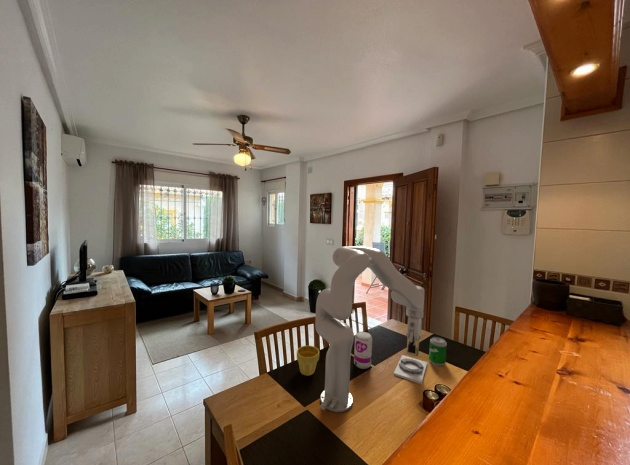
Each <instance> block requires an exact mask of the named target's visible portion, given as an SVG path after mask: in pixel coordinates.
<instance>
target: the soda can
mask: <svg viewBox="0 0 630 465" xmlns="http://www.w3.org/2000/svg"><path fill="white" fill-rule="evenodd" d="M447 345H448V344H447V341H446V340H445V339H444V338H442V337H439V336H433V337H432V338H430V339H429V349H428V350H429V353H428V360H429V362H430V363H431V364H432V365H434V366H436V367H443V366H444V365H445V364H446V363H447V362H446V360H447V348H448V347H447Z"/></svg>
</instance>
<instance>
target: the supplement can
mask: <svg viewBox="0 0 630 465" xmlns="http://www.w3.org/2000/svg"><path fill="white" fill-rule="evenodd" d="M372 350H373V337H372V335H371V333H369V332H366V331H358V332H357V333H356V334H355V335H354V353H353V354H354V355H353V356H354V357H353V363H354V365H355V367H357V368H359V369H362V370H364V369H365V370H366V369H369V368H370V367H372V353H373V351H372Z"/></svg>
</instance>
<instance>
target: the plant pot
mask: <svg viewBox="0 0 630 465" xmlns="http://www.w3.org/2000/svg"><path fill="white" fill-rule="evenodd" d="M296 360H297V362H298V366H299V372H300V373H301V375H302V376H311V375H313V374H314V373H315V371H316V367H317V363H318V361H319V360H320V349H319V348H318V347H317V346H314V345H303V346H300V347H298V348H297V350H296Z"/></svg>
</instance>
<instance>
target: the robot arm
mask: <svg viewBox="0 0 630 465" xmlns="http://www.w3.org/2000/svg"><path fill="white" fill-rule="evenodd" d="M332 261H333V264H335V266H336V267H338V268H337V269H336V270H335V271H334V273H333V275H332V278H331V281H330V288H325V289H322V290H321V291H320V292H319V294H318V295H317V298H316V304H315V324H314V326H315V330H316V333H317V334H318V335H319V336H320V338H322V339H323V340H325V342H327V343H328V345H329V347H328V350H327V351H326V355H325V366H324V367H325V372H324V374H325V375H324V376H325V377H324V390H323V391H322V392H321V394H320V399H319V401H320V403H321V404H320V405H319V406H320V409H321V410H323V411H325V410H328V411H329V412H333V413H343V412H346V411H348V410H350V409H351V408H352V406H353V401H354V399H353V395H352V394H351V393H350V383H351V380H350V378H351V357H352V350H353V349H352V348H353V345H354V342H355V334H354V333H355V332H354V331H353V329H352V328H351V326H350V325H348V324H347V323H346V322H345V321H347V320H348V319H349V318H350V316H351V314H352V310H353V298H354V297H353V292H354V284H355V282H356V280H357V278H358V277H359V276H360V275H361V274H362V273H363V272H365V271H366V270H367V268H368V269H370V270H371V271H372V273H373V274H374V276H375V277H376V278H377V279H378V281H379V282H380V283H381V284H382V285H383V286H384V287H386V288H388V289H390V290H391V292H390V298H391V299H392V301H393V302H394V303H396V304H399V305H401V306H404V307H406V309H405V315H406V317H407V330H406V332H407V333H406V335H407V336H406V337H408V338H409V343H408V352H410V353H414V354H415V350H416V345H415V340H418V339H419V337H420V338H421V334H422V319H423V318H424V307H425V288H424V287H422V286H420V285H416V284H415V283H413V282H412V281H411V279H408V278H407V277H406V276H405V275H403V274H402V273H401V272H399V271H398V270H397V268H396V267H395V266H394V264H393V263H392V262H391V260H390V259H389V257H388V256H387V255H386V253H385V252H384V251H383V250H381V249H378V248H375V247H374V248H373V247H368V246H340V247H337V248H336V249H335V250H334V251H333V254H332ZM413 337H414V338H413ZM413 340H414V341H413ZM419 340H420V339H419Z"/></svg>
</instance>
